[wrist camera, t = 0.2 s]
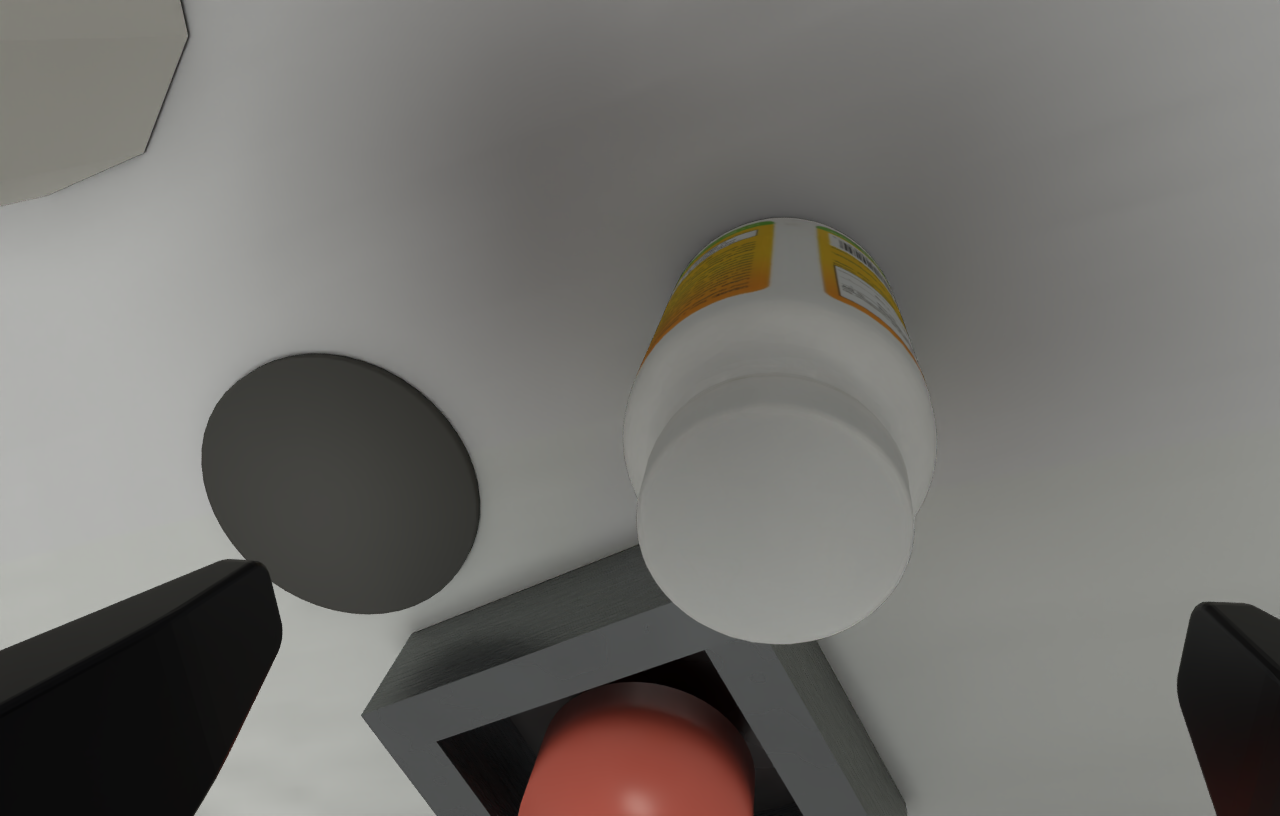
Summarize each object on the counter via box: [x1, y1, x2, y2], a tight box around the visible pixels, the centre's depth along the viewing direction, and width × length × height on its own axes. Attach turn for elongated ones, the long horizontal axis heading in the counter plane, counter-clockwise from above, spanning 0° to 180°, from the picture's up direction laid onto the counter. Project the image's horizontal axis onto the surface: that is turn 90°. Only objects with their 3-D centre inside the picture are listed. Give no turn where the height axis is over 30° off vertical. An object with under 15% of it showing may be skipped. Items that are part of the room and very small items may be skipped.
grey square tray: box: [361, 545, 907, 816], centre depth 25 cm, size 11×11×4 cm
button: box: [518, 682, 755, 816], centre depth 24 cm, size 6×6×2 cm
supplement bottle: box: [623, 218, 937, 644], centre depth 17 cm, size 5×5×10 cm
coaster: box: [202, 354, 480, 614], centre depth 25 cm, size 8×8×1 cm
